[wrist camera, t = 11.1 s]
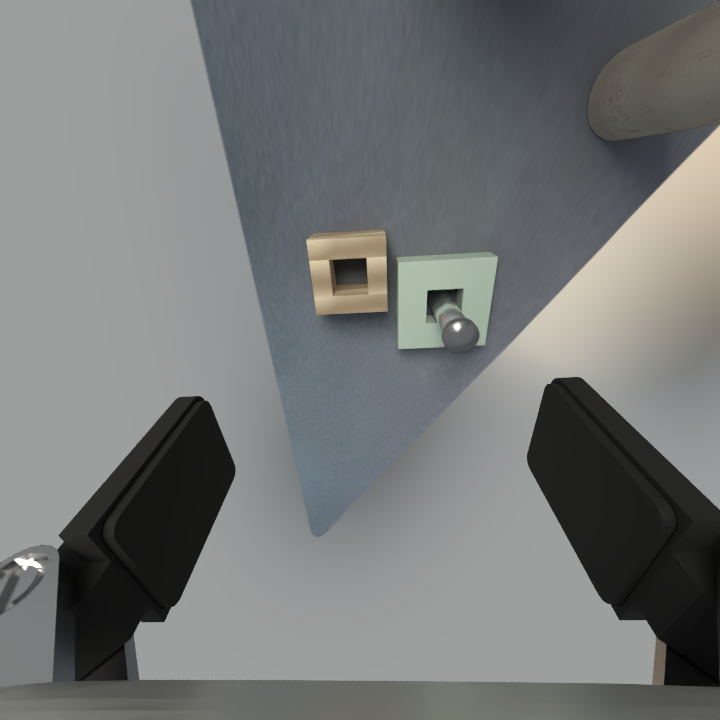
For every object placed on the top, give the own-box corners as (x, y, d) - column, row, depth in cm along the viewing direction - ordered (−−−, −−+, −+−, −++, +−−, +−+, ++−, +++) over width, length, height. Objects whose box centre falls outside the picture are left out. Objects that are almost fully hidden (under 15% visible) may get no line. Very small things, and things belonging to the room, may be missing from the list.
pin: (425, 286, 43) (444, 321, 33) (454, 285, 43) (481, 320, 32) (424, 313, 45) (441, 354, 34) (451, 311, 45) (477, 352, 34)
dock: (396, 257, 41) (398, 262, 39) (489, 251, 41) (498, 256, 38) (396, 339, 47) (398, 349, 45) (478, 336, 47) (484, 345, 44)
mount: (313, 233, 40) (306, 240, 36) (384, 229, 40) (386, 235, 35) (321, 301, 44) (316, 314, 40) (385, 298, 44) (387, 311, 40)
